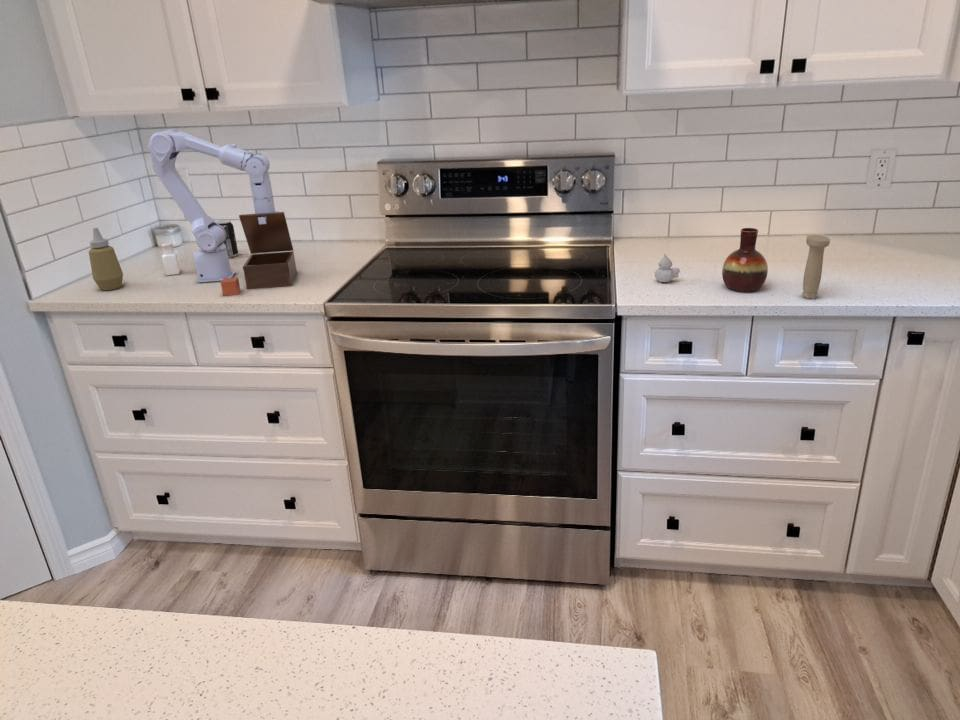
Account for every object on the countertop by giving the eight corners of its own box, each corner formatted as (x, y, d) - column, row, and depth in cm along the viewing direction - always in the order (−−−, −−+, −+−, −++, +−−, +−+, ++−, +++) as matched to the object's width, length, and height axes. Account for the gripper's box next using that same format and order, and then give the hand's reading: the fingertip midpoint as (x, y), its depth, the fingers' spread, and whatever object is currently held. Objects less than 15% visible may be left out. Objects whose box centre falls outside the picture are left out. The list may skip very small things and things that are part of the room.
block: (223, 295, 194) (220, 282, 193) (226, 291, 198) (223, 278, 196) (237, 294, 195) (235, 281, 193) (240, 290, 198) (238, 277, 197)
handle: (815, 293, 176) (824, 234, 170) (823, 301, 170) (833, 241, 164) (795, 293, 176) (803, 235, 170) (802, 301, 170) (812, 241, 164)
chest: (291, 285, 200) (287, 263, 198) (247, 289, 199) (242, 266, 196) (296, 272, 213) (293, 251, 210) (255, 275, 211) (251, 254, 209)
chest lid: (283, 213, 198) (283, 211, 199) (238, 216, 197) (239, 214, 198) (293, 250, 210) (293, 249, 210) (250, 253, 208) (251, 252, 209)
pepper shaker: (180, 271, 220) (174, 241, 216) (179, 274, 216) (173, 244, 213) (167, 272, 219) (160, 243, 215) (166, 276, 215) (159, 246, 211)
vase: (713, 289, 181) (719, 231, 175) (731, 279, 189) (737, 222, 183) (755, 297, 175) (762, 237, 168) (771, 286, 182) (779, 228, 176)
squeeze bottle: (118, 282, 211) (103, 223, 204) (131, 286, 207) (115, 226, 199) (91, 289, 206) (74, 229, 198) (103, 293, 201) (86, 232, 194)
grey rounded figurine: (653, 278, 192) (655, 250, 189) (677, 278, 191) (680, 250, 188) (654, 284, 187) (656, 255, 184) (679, 284, 186) (682, 256, 183)
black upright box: (230, 253, 238) (223, 218, 233) (242, 254, 236) (236, 219, 231) (217, 257, 233) (210, 222, 229) (229, 259, 231) (222, 223, 226)
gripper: (273, 201, 196) (280, 248, 201) (280, 192, 209) (286, 236, 215) (247, 202, 195) (256, 249, 201) (256, 193, 208) (263, 238, 214)
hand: (270, 243), depth 208 cm, fingers closed
